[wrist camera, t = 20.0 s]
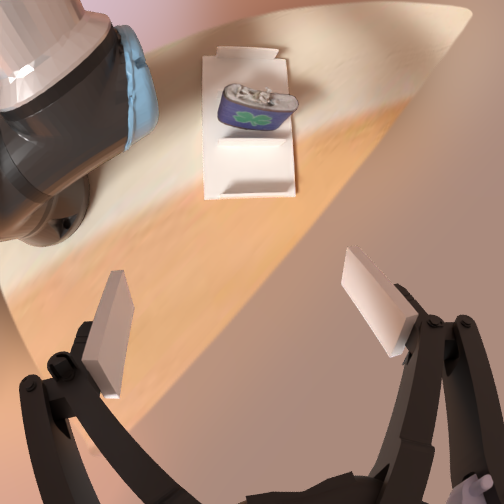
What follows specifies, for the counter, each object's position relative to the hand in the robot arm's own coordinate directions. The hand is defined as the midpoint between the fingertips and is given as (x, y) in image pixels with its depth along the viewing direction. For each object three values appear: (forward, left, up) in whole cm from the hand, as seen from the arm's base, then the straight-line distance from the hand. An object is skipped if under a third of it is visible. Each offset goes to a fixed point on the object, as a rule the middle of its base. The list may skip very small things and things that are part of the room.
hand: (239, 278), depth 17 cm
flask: (+6, +17, -25) cm, 31 cm away
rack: (+6, +17, -26) cm, 32 cm away
